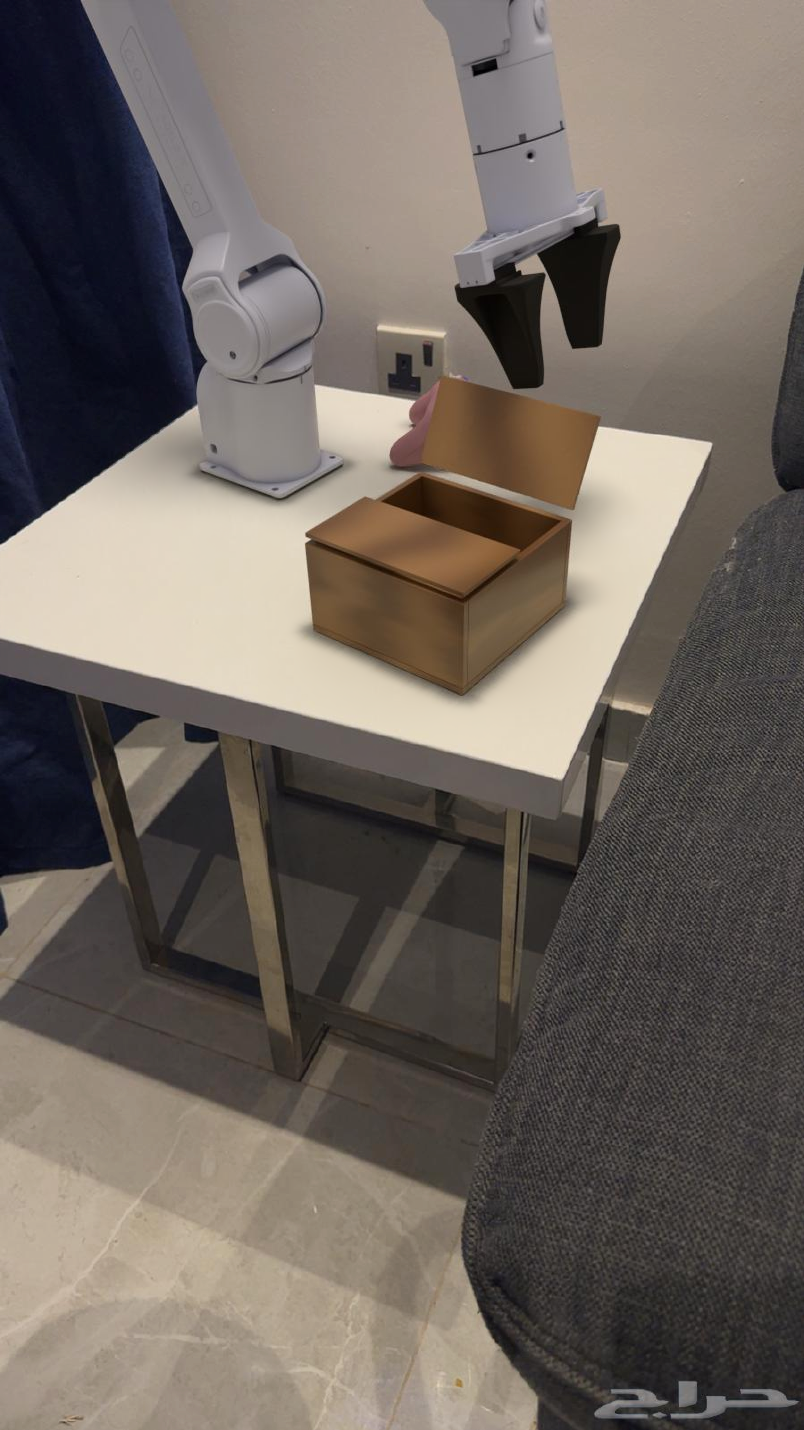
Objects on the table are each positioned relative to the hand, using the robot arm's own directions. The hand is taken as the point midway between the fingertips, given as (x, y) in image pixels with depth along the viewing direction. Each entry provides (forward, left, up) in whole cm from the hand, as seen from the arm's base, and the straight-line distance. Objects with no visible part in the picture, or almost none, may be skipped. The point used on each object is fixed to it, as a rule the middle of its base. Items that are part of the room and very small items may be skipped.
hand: (558, 366), depth 69 cm
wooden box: (0, -14, -13) cm, 19 cm away
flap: (0, -7, -3) cm, 7 cm away
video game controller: (-16, +7, -13) cm, 22 cm away
